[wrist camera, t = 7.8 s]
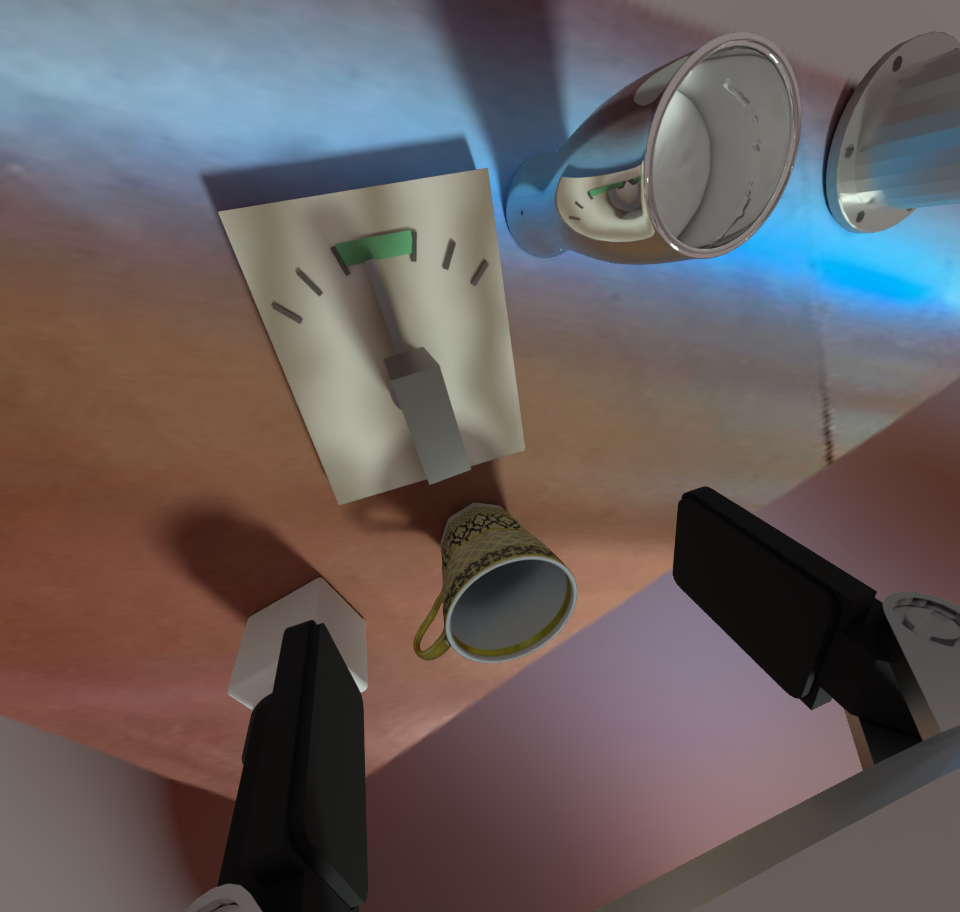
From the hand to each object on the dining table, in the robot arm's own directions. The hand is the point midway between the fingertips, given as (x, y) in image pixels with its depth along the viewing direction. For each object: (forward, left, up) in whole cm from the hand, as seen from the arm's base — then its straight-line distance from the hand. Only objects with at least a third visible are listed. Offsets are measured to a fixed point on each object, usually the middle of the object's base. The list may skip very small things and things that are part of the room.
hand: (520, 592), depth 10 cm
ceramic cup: (-1, +16, -22) cm, 28 cm away
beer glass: (-12, -9, -22) cm, 27 cm away
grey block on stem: (0, -2, -20) cm, 20 cm away
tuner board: (0, -2, -22) cm, 22 cm away
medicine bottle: (+14, +19, -22) cm, 33 cm away
